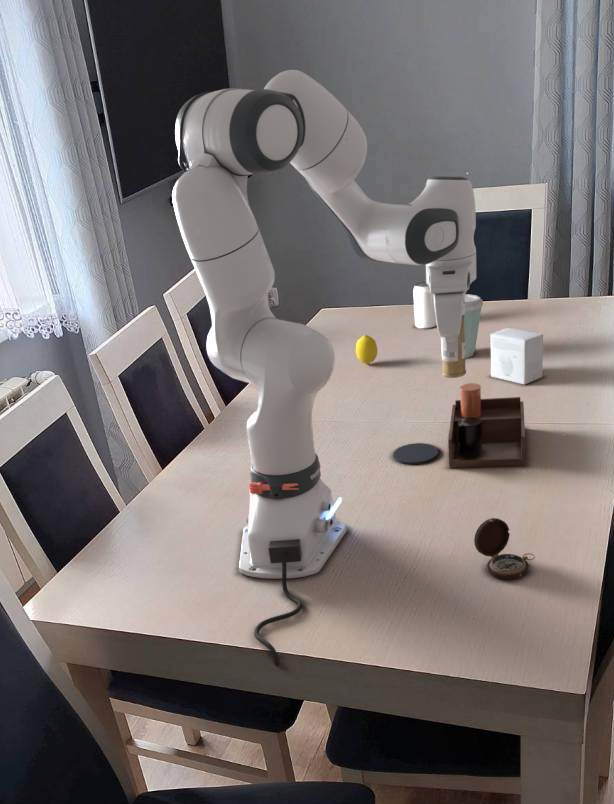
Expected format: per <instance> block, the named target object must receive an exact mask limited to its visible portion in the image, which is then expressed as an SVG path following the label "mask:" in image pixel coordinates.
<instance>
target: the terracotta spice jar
mask: <svg viewBox="0 0 614 804" xmlns="http://www.w3.org/2000/svg"><path fill="white" fill-rule="evenodd" d="M459 393H460V395H459V396H460V398H459V399H460V400H461V416H462V417H463V418H467V417H476V418H477V417H479V416H481V399H482V386H481V384H479V383H475V382H474V383H472V382H471V383H470V382H469V383H464V384H462V385H461V386H460V387H459Z"/></svg>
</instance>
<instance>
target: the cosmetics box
mask: <svg viewBox="0 0 614 804" xmlns="http://www.w3.org/2000/svg"><path fill="white" fill-rule="evenodd" d="M489 336H490V337H489V338H490V377H491V378H495V379H498V380H499V379H500V380H504V381H509V382H513V383H517V384H520V385H527V384H530V383H532V382H533V381H536V380H538V379H541V378H542V377H543V367H544V366H543V361H544V360H543V359H544V356H543V355H544V334H543V333H540V332H536V331H535V332H534V331H529V330H524V329H519V328H513V327H505V328H502V329H500V330H497V331H494V332H492V333H490V335H489Z"/></svg>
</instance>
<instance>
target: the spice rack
mask: <svg viewBox="0 0 614 804" xmlns="http://www.w3.org/2000/svg"><path fill="white" fill-rule="evenodd" d="M454 403H455V404H452V407H451V415H450V424H449V429H448V431H449V432H448V438H447V442H448V443H447V444H448V465H449V469H461V468H462V469H463V468H465V469H467V468H495V467H526V428H525V427H526V425H525V407H524V406H525V405H524V404H525V403H524V401H521V396H510V397H493V398H492V397H491V398H481V416H479V417H477V418H479V419H481V429H482V443H499V442H501V443H502V442H503V443H504V442H520V455H521V456H517V457H515V456H514V457H513V456H512V457H487V458H486V457H485V458H472V459H467V458H458V459H457V458H455V450H456V444H459V434H458V421H459V420H460V419H463V417H462V416H461V399H455V402H454ZM454 458H455V459H454Z"/></svg>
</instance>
